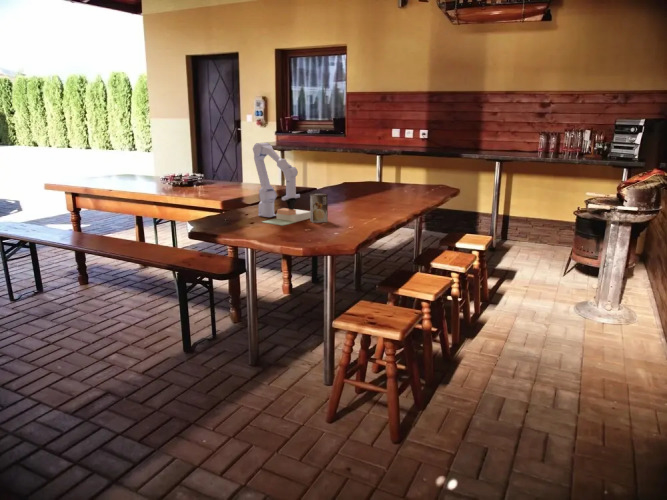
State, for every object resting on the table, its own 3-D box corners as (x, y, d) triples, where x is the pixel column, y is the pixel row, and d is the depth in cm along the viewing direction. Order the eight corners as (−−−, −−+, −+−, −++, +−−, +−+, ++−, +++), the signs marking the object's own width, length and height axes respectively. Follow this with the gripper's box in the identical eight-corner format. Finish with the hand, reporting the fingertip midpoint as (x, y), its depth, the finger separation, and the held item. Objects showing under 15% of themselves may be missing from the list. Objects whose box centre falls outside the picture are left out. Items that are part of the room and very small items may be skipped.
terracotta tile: (277, 213, 308) (277, 209, 308) (284, 212, 313) (284, 208, 313) (289, 215, 303) (289, 211, 303) (295, 213, 308) (295, 209, 308)
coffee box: (325, 220, 311) (325, 193, 307) (327, 222, 305) (328, 194, 301) (310, 220, 309) (309, 193, 305) (312, 223, 303) (312, 195, 299)
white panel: (276, 219, 312) (276, 212, 311) (293, 215, 325) (293, 209, 324) (294, 222, 304) (294, 215, 303) (311, 218, 317) (311, 211, 316)
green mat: (261, 222, 303) (261, 221, 303) (275, 219, 313) (275, 218, 313) (282, 225, 294) (282, 225, 294) (296, 222, 304) (296, 221, 304)
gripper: (288, 190, 300) (288, 213, 303) (303, 187, 311) (304, 210, 315) (278, 189, 304) (279, 212, 307) (294, 186, 315) (294, 208, 319)
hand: (291, 211), depth 311 cm, fingers closed
